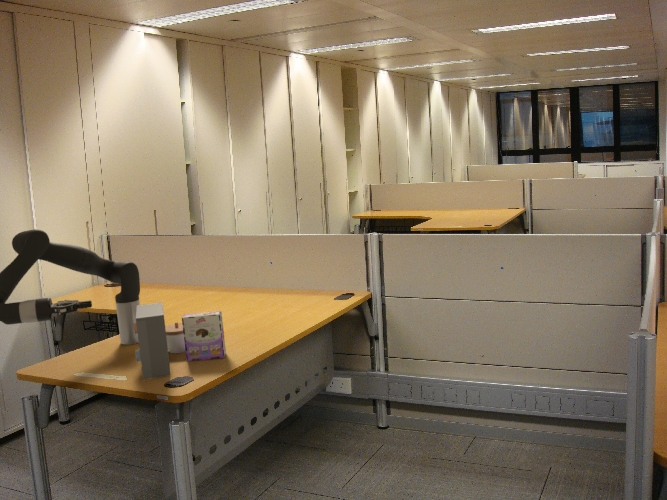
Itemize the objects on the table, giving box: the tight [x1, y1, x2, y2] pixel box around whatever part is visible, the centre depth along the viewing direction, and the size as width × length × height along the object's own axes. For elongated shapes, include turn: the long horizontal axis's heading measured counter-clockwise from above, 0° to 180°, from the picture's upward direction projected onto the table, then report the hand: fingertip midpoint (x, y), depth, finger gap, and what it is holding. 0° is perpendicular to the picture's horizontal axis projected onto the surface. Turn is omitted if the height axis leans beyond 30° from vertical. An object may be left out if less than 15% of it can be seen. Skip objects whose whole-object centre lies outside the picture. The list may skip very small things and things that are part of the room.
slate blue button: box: [135, 349, 141, 363], centre depth 226 cm, size 6×4×4 cm, turn 105°
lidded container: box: [165, 321, 186, 354], centre depth 253 cm, size 13×13×11 cm
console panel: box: [136, 301, 171, 380], centre depth 232 cm, size 9×22×21 cm, turn 15°
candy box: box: [181, 310, 227, 362], centre depth 240 cm, size 14×6×16 cm, turn 92°
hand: (91, 303), depth 223 cm, fingers closed
